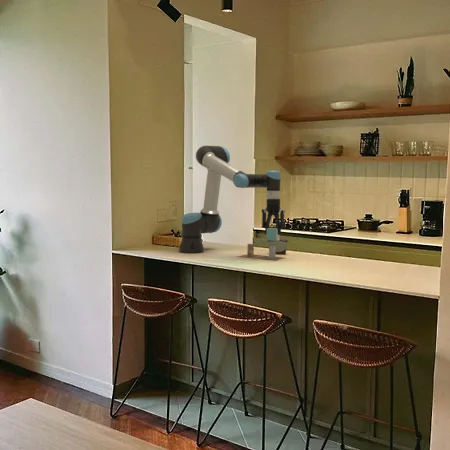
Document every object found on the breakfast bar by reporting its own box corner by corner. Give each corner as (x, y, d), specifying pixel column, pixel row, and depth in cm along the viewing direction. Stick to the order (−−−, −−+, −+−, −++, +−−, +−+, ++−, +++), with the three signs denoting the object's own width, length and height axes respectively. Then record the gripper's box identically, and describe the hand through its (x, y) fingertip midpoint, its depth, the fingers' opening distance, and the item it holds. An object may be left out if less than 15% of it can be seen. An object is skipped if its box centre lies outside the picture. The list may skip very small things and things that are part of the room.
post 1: (247, 256, 320) (247, 244, 320) (249, 255, 323) (249, 243, 322) (251, 256, 319) (251, 244, 318) (253, 256, 321) (253, 244, 320)
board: (235, 258, 318) (235, 256, 318) (248, 255, 330) (248, 253, 330) (275, 262, 304) (275, 260, 304) (286, 259, 316) (286, 257, 316)
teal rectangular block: (266, 240, 311) (266, 228, 311) (270, 239, 316) (271, 227, 315) (274, 240, 308) (275, 228, 308) (279, 240, 313) (279, 228, 312)
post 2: (269, 258, 313) (269, 246, 312) (271, 257, 315) (271, 245, 314) (273, 258, 311) (273, 246, 311) (275, 258, 314) (275, 245, 313)
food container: (287, 254, 334) (288, 238, 333) (288, 256, 328) (288, 239, 327) (267, 254, 335) (267, 237, 334) (266, 255, 329) (267, 238, 328)
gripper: (255, 198, 312) (255, 239, 314) (285, 199, 302) (284, 242, 304) (262, 197, 318) (261, 238, 320) (291, 198, 308) (290, 240, 310)
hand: (272, 240), depth 312 cm, fingers closed on teal rectangular block, 5 cm apart
